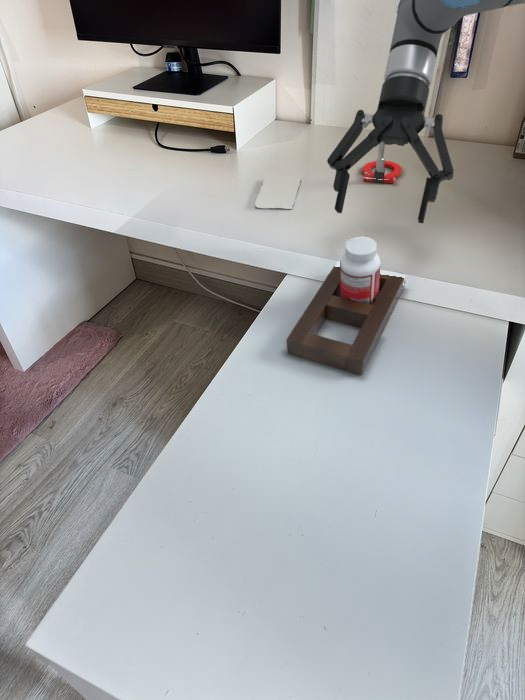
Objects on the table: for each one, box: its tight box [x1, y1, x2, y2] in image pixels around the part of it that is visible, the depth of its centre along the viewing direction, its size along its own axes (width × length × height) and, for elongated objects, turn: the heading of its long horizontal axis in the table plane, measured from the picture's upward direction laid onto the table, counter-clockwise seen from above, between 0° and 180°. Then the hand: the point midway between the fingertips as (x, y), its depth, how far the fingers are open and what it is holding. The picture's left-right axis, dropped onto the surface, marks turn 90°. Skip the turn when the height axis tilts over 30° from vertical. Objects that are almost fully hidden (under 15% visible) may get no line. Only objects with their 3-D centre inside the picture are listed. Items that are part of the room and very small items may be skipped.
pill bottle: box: [339, 236, 382, 305], centre depth 79 cm, size 6×6×11 cm
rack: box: [286, 265, 406, 376], centre depth 80 cm, size 12×21×3 cm, turn 152°
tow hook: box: [362, 142, 402, 184], centre depth 108 cm, size 8×13×9 cm
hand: (378, 216), depth 83 cm, fingers open, 13 cm apart
